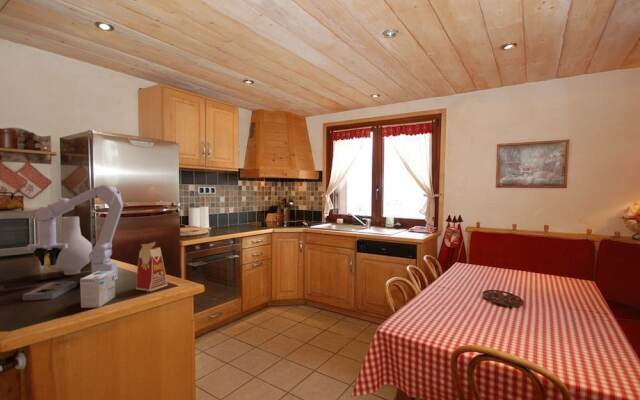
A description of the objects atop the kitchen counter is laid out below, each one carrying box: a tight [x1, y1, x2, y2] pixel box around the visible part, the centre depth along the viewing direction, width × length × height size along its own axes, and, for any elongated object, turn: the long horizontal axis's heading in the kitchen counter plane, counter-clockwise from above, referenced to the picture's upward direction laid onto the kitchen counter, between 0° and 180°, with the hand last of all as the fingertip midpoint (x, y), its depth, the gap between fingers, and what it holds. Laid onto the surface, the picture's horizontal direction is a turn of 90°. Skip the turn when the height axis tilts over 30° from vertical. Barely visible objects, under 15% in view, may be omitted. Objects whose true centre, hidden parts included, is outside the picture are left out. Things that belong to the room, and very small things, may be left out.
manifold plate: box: [22, 280, 78, 302], centre depth 129 cm, size 10×16×2 cm, turn 10°
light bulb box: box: [79, 271, 116, 309], centre depth 120 cm, size 11×7×11 cm, turn 5°
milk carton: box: [135, 241, 168, 292], centre depth 137 cm, size 9×9×20 cm
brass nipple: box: [43, 253, 55, 272], centre depth 140 cm, size 3×3×7 cm
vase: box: [49, 216, 93, 276], centre depth 158 cm, size 17×16×28 cm
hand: (48, 265), depth 140 cm, fingers closed on brass nipple, 3 cm apart
